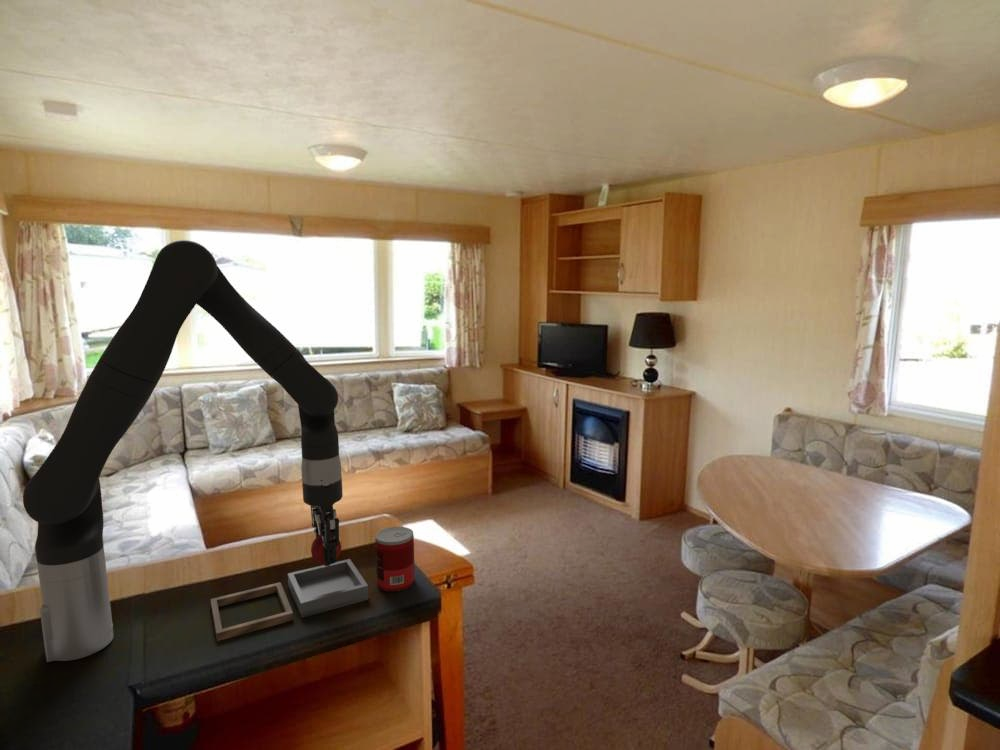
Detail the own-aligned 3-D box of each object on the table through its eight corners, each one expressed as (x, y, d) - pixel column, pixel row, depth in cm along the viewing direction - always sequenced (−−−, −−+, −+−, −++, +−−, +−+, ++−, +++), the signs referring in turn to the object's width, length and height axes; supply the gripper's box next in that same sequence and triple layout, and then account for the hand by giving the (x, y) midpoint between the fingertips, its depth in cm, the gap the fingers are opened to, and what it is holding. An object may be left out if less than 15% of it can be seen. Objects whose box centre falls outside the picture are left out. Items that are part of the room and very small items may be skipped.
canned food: (422, 579, 125) (421, 531, 123) (396, 596, 118) (395, 545, 116) (395, 570, 129) (393, 523, 127) (369, 586, 122) (367, 536, 120)
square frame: (217, 641, 103) (216, 633, 103) (211, 606, 114) (210, 599, 114) (293, 620, 110) (292, 612, 110) (280, 588, 121) (280, 582, 121)
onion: (323, 575, 114) (321, 537, 113) (306, 567, 118) (303, 529, 117) (347, 564, 119) (346, 527, 118) (330, 556, 122) (328, 520, 121)
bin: (301, 617, 110) (300, 603, 110) (288, 587, 122) (287, 573, 121) (368, 599, 117) (368, 585, 116) (350, 571, 128) (349, 558, 128)
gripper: (294, 470, 120) (299, 547, 122) (310, 491, 107) (315, 577, 110) (331, 464, 123) (335, 539, 126) (351, 484, 111) (354, 567, 114)
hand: (326, 556), depth 118 cm, fingers closed on onion, 5 cm apart
